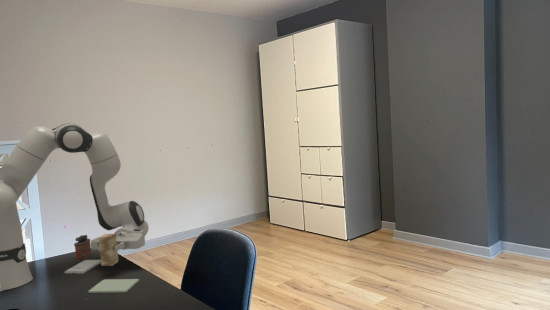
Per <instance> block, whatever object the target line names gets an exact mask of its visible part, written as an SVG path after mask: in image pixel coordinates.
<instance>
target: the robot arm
mask: <svg viewBox="0 0 550 310" xmlns="http://www.w3.org/2000/svg"><path fill="white" fill-rule="evenodd" d="M57 149H60V150H62V151H64V152H67V153H70V154H71V153H72V154H73V153H75V154H77V153H84V154H85V155H86V157H87V159H88V160H89V161H88V162H89V164H90V166H91V171H92V172H91V174H90V176H89V186H90V189H91V194H92V197H93V200H94V204H95V208H96V212H97V222H98V224H99V226H100V227H101V228H102V229H104V230H105V231H113V230H115V229H116V231H115V232H114V233H113V234H116V241H117V245H114V246H113V251H117V252H118V251H119V250H121V251H122V250H136V249H137V250H139V249H141V248H142V247H144V246H145V245H146V240H145V239H146V238H145V237H146V236H147V234H148V232H149V223H148V222H147V220H145V212H144V210H143V208H142V206H141V205H140V204H139V203H138V202H136V201H134V200H131V201H130V200H129V201H126V202H122V203H119V204H115V205H110V202H109V199H108V196H107V191H106V184H107V183H108V182H110V180H111V181H112V179H114V178H115V177H116V176H117V175H118V173H119V172H120V169H121V165H122V164H121V159H120V156H119V155H118V153H117V150H116V148H115V146H114V145H113V143H112V141H111V139H110V138H109V136H108V134H106V133H104V132H100V131H96V132H92V133H89V132H87V130H85V129H84V128H83V127H82V126H80V125H78V124H76V123H72V122H71V123H70V122H67V123H63V124H61V125H59V126H56V127H55V128H52V129H50V128H49V127H46V126H42V125H38V126H37V125H36V126H34V127H32V128H31V129H30V130H29V131H28V132H27V133H26V134H25V135H24V136H23V137H22V138H21V140H20V141H19V142H18V144H17V145H16V146H15V147H14V149H13V150H12V152H11V153H10V154H9V156H8V157H7V158H6V160H5V161H4V162H3V165H2V166H1V167H0V292H3V291H7V290H12V289H15V288H19V287H21V286H24V285H26V284H28V283H30V282H31V281H33V280H34V277H33V275H32V272H31V270H30V268H29V263H28V260H27V250H26V249H27V248H26V244H25V243H24V236H23V229H22V222H21V220H20V215H19V211H18V206H17V202H18V200H19V199H20V198H21V196H22V194H23V193H24V192H25V190H26V189H27V188H28V186H29V185H30V183H31V182H32V180H33V179H34V178H35V176H36V175H37V174H38V172H39V170H40V169H41V167H42V166H44V163H45V162H46V160H47V159H48V158H49V156H50V154H51V153H53V151H55V150H57ZM118 228H119V229H118ZM99 237H100V236H98V237H96V238H93V239H90V246H91V250H98V252H100V247H99Z"/></svg>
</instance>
